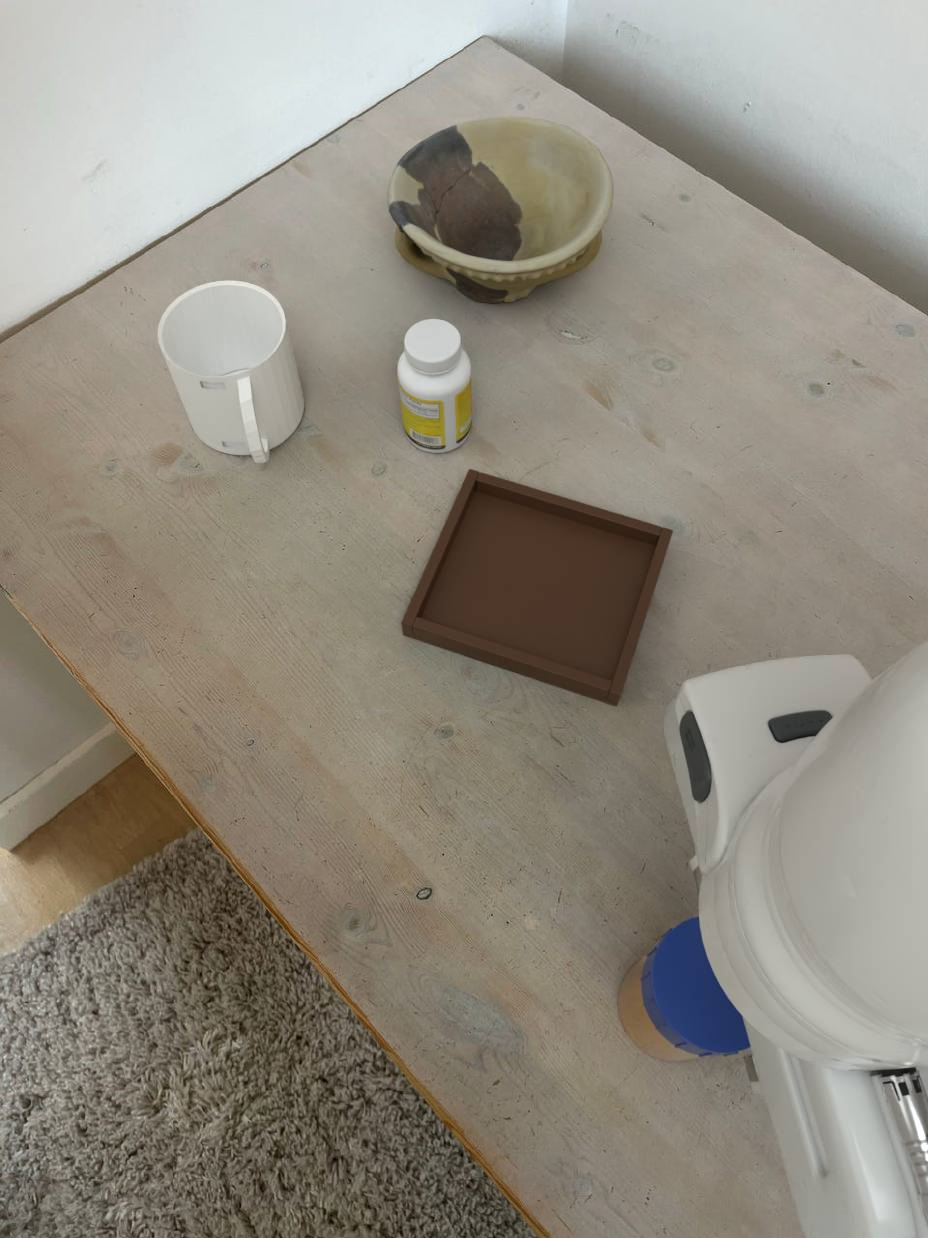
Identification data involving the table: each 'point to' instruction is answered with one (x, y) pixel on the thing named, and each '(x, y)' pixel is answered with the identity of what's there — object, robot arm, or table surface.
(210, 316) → the mug
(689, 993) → the jam lid
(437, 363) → the supplement bottle
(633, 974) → the jam jar
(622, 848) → the table surface
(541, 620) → the walnut tray
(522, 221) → the bowl
